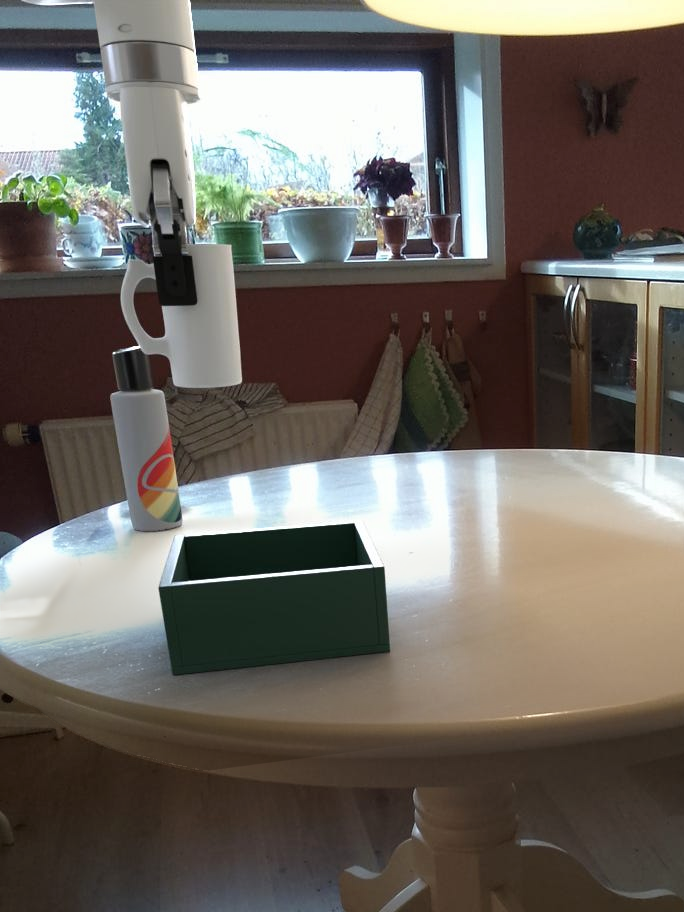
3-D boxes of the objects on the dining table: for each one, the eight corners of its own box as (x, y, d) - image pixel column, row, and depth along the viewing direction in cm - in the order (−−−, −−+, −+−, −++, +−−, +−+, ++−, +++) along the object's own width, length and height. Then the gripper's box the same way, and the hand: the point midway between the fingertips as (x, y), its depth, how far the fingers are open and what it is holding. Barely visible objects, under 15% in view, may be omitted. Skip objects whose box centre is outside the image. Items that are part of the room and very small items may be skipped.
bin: (172, 675, 66) (158, 586, 63) (185, 610, 79) (174, 535, 76) (390, 651, 69) (384, 566, 66) (368, 592, 82) (362, 520, 80)
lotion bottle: (189, 526, 107) (162, 345, 99) (138, 534, 104) (107, 349, 97) (176, 517, 111) (149, 343, 104) (127, 524, 108) (96, 347, 101)
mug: (238, 378, 91) (225, 246, 86) (251, 385, 85) (237, 244, 80) (130, 384, 87) (110, 245, 82) (136, 392, 81) (115, 243, 77)
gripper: (116, 97, 84) (146, 305, 91) (89, 52, 68) (127, 307, 75) (202, 99, 86) (224, 303, 92) (194, 55, 70) (222, 305, 76)
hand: (180, 303), depth 83 cm, fingers closed on mug, 6 cm apart
